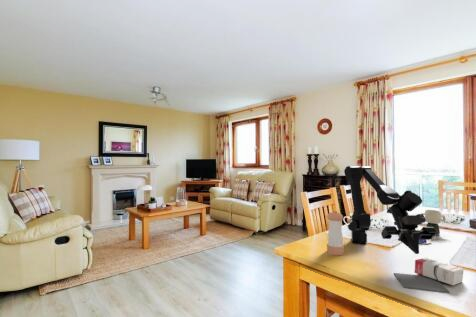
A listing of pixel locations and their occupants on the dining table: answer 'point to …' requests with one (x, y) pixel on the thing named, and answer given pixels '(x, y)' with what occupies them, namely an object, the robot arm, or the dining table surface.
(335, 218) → the pepper shaker
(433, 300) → the dining table surface
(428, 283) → the mat
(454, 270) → the ink box
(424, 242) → the blue low rounded piece
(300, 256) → the dining table surface
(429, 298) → the dining table surface
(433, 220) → the character mug
